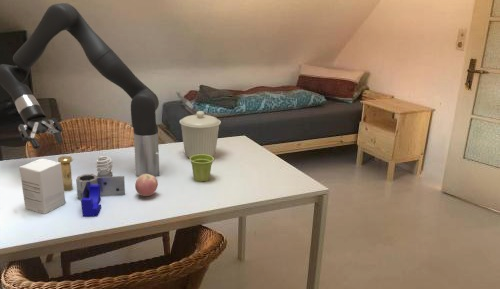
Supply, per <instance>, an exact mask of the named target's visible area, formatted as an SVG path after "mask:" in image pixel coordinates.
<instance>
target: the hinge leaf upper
mask: <svg viewBox="0 0 500 289" xmlns="http://www.w3.org/2000/svg"><path fill="white" fill-rule="evenodd" d="M85 181H86V182H87V189H88V191H90V185H100V196H101V197H107V196H108V197H110V196H125V195H126V185H125V176H124V175H115V176H110V177H98V176H97V174H94V173H89V174H88V173H86V174H81V175H79V176H77V177H76V179H75V182H76V191H77V190H80V191H81V190H82V187H83V184H84V182H85Z"/></svg>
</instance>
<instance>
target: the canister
mask: <svg viewBox="0 0 500 289" xmlns="http://www.w3.org/2000/svg"><path fill="white" fill-rule="evenodd" d="M221 122H222V121H221V120H220V119H218V118H217V117H216V116H213V115H209V114H205V112H204V111H202V110H198V111H196V113H195V114H193V115H187V116H185V117H183V118H181V119H179V124H180V128H181V135H182V142H183V150H184V154H185V155H186V157H187V158H189V159H190V157H191V156H194V155H199V154H204V155H210V156H212V157H213V158H214V156H215V153H216V150H217V145H218V139H219V138H218V136H219V130H220V129H219V126H220V125H221Z"/></svg>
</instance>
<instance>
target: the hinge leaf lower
mask: <svg viewBox="0 0 500 289" xmlns="http://www.w3.org/2000/svg"><path fill="white" fill-rule="evenodd" d="M76 192H77V193H76V194H77V199H78V200H80V202H81V200H82V198H89V194H90V191H88V189H87V182H86V181H85V182H84V184H83V187H82V190H81V191H80V190H77V189H76ZM80 205H81V207H82V202H81V203H80Z"/></svg>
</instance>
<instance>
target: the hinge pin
mask: <svg viewBox="0 0 500 289" xmlns="http://www.w3.org/2000/svg"><path fill="white" fill-rule="evenodd" d="M57 162H60V163H61V169H62V178H63V186H64V192H71V191H72V190H73V189H74V186H73V177H72V176H73V175H72V166H71V162H73V157H72V156H71V155H65V156H63V155H62V156H59V157H58V158H57Z"/></svg>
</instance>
